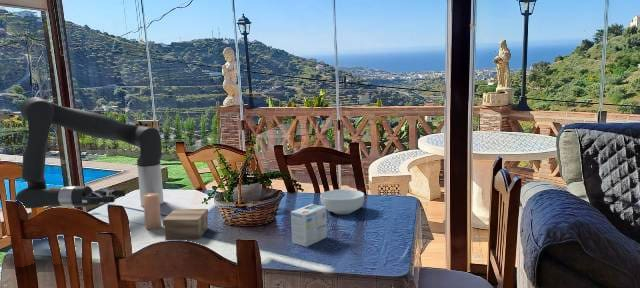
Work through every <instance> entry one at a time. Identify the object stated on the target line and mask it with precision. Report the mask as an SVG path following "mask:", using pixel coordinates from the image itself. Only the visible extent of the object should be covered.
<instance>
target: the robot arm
mask: <svg viewBox="0 0 640 288" xmlns="http://www.w3.org/2000/svg"><path fill="white" fill-rule="evenodd" d="M19 111H20V114H21V116H22V117H23V118H24V120H26V121H27V126H28V128H27V129H28V138H27V142H26V147H25V149H24V152H23V157H22V167H21V178H22V180H23V181H24V182H27V184H28V185H27V187H26V188H24V189H21V190H19V191H18V192H17V194H16V195H15V201H16V200H17V201H20V202H22V203H23V205H24V206H25V208H24V209H37V208H45V207H65V208H66V207H67V208H89V206H98V205H100V204H104V203H105V204H107V203H109V204H110V203H112V204H113V203H115V201H116V197H117V198H118V197H125V196H126V191H125V189H121V190H119V189H116V187H115V188H113V187H112V188H111V187H110V188H99V189H95V190H93V189H92V188H91V187H90V186H89V185H70V186H52V187H47V183H46V182H47V181H46V178H45V169H46V157H47V156H46V155H47V146H48V140H49V135H50V131H51V127H52V125H55V126H59V127H62V128H65V129H68V130H70V131H73V132H75V133H77V134H81V135H84V136H87V137H91V138H97V139H102V140H110V141H120V142H124V143H126V144H129V145H132V146H135V147H137V148H139V151H140V152H139V153H140V154H139V157H138V158H137V160H136V163H137V165H136V166H137V176H138V177H137V178H138V186H139V198H140V206H141V207H144V204H143V195H145V194H148V193H158V194H159V202H160V206H161V205H163V204H164V203H165V202H164V201H165V200H164V189H163V178H162V177H163V176H162V166H161V160H162V151H163V150H162V137H161V134H160V132H159V130H158V129H156V128H155V127H152V126H145V125H134V124H129V123H124V122H121V121H120V120H117V119H115V118H113V117H110V116H108V115H104V114H101V113H96V112H93V111H88V110H83V109H77V108H73V107H72V108H71V107H68V106H67V107H66V106H62V105H60V104H56V103H53V102H52V101H51V102H50V101H49V100H46V99H43V98H41V97H29V98H27V99H25V100H23V101H22V102H21V104H20V105H19Z"/></svg>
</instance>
